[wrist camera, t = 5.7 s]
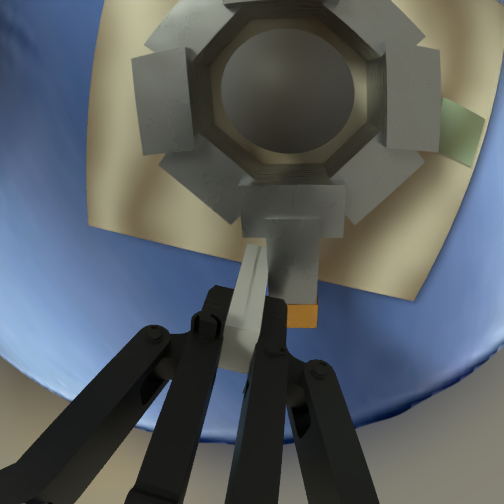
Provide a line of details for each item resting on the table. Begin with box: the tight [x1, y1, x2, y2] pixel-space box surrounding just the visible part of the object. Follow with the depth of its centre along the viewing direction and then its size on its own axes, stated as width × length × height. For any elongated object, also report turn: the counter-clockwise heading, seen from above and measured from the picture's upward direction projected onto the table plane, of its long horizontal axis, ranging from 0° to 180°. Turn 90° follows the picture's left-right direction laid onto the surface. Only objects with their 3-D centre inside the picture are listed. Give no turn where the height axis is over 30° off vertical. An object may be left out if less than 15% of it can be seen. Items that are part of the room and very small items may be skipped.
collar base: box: [86, 0, 504, 301], centre depth 13 cm, size 24×22×6 cm
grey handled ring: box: [131, 0, 441, 328], centre depth 14 cm, size 18×13×4 cm
